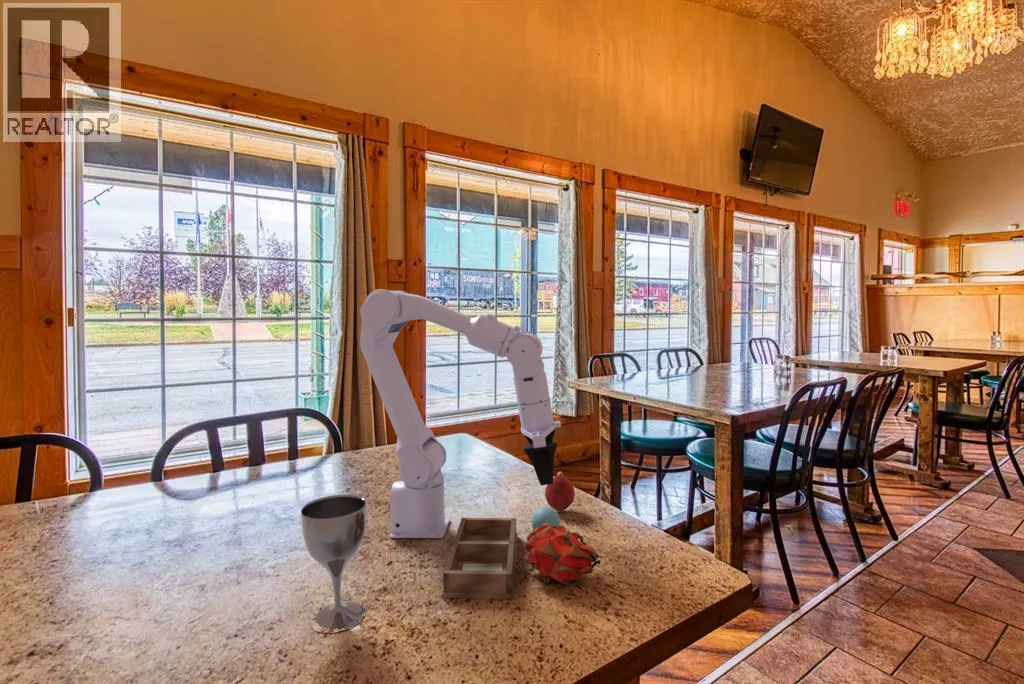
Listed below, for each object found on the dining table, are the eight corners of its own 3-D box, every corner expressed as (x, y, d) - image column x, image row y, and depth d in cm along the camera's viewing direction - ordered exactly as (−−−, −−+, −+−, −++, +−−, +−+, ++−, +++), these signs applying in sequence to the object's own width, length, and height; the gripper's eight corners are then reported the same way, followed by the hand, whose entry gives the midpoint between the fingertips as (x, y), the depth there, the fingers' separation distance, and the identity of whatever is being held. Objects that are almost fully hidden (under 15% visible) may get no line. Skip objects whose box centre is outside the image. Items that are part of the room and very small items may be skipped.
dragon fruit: (520, 575, 80) (594, 603, 75) (505, 566, 73) (585, 597, 68) (538, 521, 83) (609, 545, 78) (525, 508, 76) (602, 534, 72)
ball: (531, 541, 87) (531, 513, 87) (531, 528, 92) (531, 502, 92) (560, 541, 87) (560, 513, 87) (559, 529, 92) (559, 502, 92)
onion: (573, 519, 96) (573, 478, 95) (543, 517, 97) (543, 476, 97) (575, 507, 102) (575, 468, 101) (547, 505, 103) (547, 466, 102)
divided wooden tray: (441, 597, 71) (441, 574, 71) (461, 535, 90) (460, 517, 90) (513, 598, 70) (512, 575, 70) (517, 536, 89) (517, 517, 89)
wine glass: (316, 600, 71) (311, 495, 69) (374, 597, 71) (371, 493, 70) (297, 637, 63) (291, 520, 62) (362, 633, 63) (358, 517, 62)
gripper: (558, 405, 81) (571, 487, 82) (554, 390, 95) (566, 460, 96) (514, 412, 81) (528, 494, 82) (517, 396, 96) (529, 466, 96)
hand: (546, 476), depth 89 cm, fingers open, 7 cm apart
